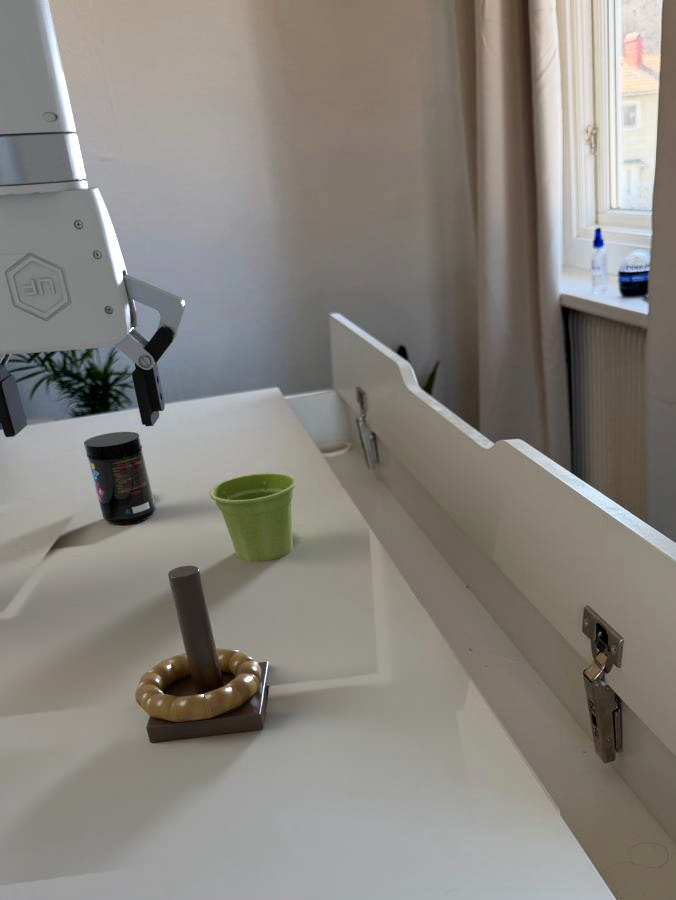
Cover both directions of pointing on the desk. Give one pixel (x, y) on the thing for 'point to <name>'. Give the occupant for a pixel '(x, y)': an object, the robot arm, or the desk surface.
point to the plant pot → (257, 514)
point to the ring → (202, 704)
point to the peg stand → (204, 668)
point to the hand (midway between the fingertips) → (84, 426)
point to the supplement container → (120, 477)
